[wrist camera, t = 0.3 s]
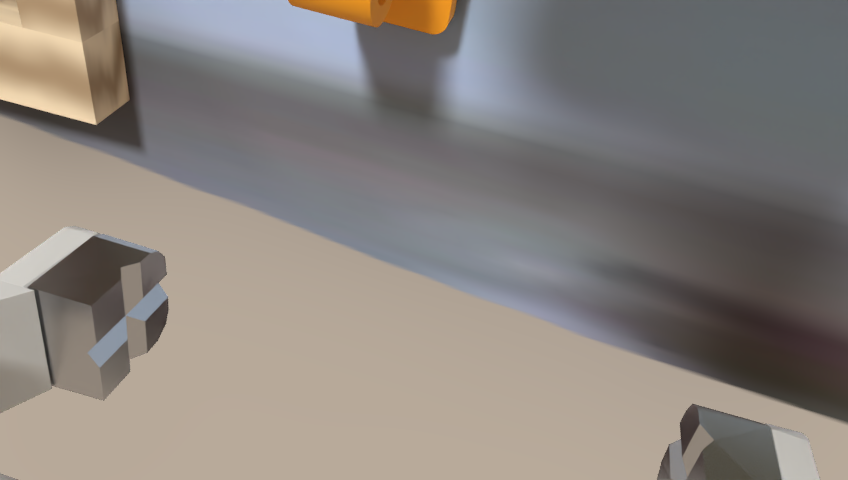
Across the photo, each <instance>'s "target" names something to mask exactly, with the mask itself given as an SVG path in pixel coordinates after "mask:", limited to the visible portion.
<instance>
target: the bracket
mask: <svg viewBox="0 0 848 480" xmlns="http://www.w3.org/2000/svg"><path fill="white" fill-rule="evenodd" d="M288 1H289V3H290V4H291V5H293V6H296V7H300V8H304V9H307V10H311V11H315V12H319V13H323V14H326V15H330V16H334V17H338V18H342V19H346V20H349V21H353V22H357V23H361V24H365V25H368V26H372V27H379V26H380V25H381V24H382V22H387V23H390V24H394V25H398V26H402V27H406V28H410V29H413V30H417V31H421V32H425V33H429V34H439V33H441V32H443V31H444V30H445V29H446V27H447V26H448V24H449V23H450V21H451V19H452V18H453V16H454V13H455V8H456V3H457V0H288Z"/></svg>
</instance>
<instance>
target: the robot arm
mask: <svg viewBox="0 0 848 480" xmlns="http://www.w3.org/2000/svg"><path fill="white" fill-rule="evenodd" d="M166 275H167V272H166V263H165V257H164V256H163V255H162V254H161V253H160V252H159V251H156V250H153V249H149V248H147V247H143V246H140V245H137V244H134V243H131V242H127V241H124V240H121V239H117V238H114V237H111V236H108V235H104V234H99V233H97V232H93V231H90V230H87V229H84V228H80V227H77V226H70V227H64V228H63V229H61V230H60V231H59V232H57V233H56V234H55V235H53V236H52V237H50V238H49V239H48V240H46V241H45V242H43V243H42V244H40V245H39V246H38V247H36V248H35V249H34V250H32V251H31V252H29V253H28V254H26V255H25V256H24V257H22V258H21V259H19V260H18V261H17V262H15V263H14V264H12V265H11V266H10V267H8V268H7V269H5V270H4V271H3V272H1V273H0V413H2V412H3V411H6V410H8V409H10V408H12V407H14V406H16V405H19V404H21V403H23V402H25V401H27V400H29V399H31V398H33V397H35V396H37V395H40V394H42V393H44V392H46V391H48V390H50V389H52V386H55V387H58V388H62V389H65V390H69V391H72V392H76V393H79V394H83V395H86V396H90V397H93V398H96V399H100V400H105V399H106V397H107V396H108V395H109V394H110V393H111V392H112V391H113V390H114V389H115V388H116V387H117V385H118V384H119V383H120V382H121V381H122V380H123V379H124V378H125V377H126V376H127V374H129V372H130V359H132V358H135V357H137V356H140V355H143V354H145V353H148V351H149V350H150V349H151V348H152V347H153V345H154V344H155V343H156V342H157V341H158V339H159V337H160V335H161V333H162V331H163V328H164V327H165V325H166V320H167V314H168V296H167V295H166V294H165V292H164V291H163V289H162V288H161V286H160V285H159V282H160V281H161V280H162V279H163V278H164V277H165V276H166ZM680 430H681V431H680V432H681V439H680V440H678V441H676V442H674V443H672V444H669V446H668V449H667V451H666V453H665V455H664V458H663V460H662V462H661V466H660V470H659V474H658V478H657V480H820V477H819V474H818V470H817V467H816V463H815V460H814V456H813V453H812V450H811V446H810V443H809V439H808V438H807V437H806V436H805V435H804V434H803V433H800V432H797V431H792V430H789V429H785V428H781V427H777V426H774V425H770V424H762V423H759V422H756V421H752V420H748V419H745V418H741V417H738V416H734V415H730V414H727V413H724V412H720V411H716V410H713V409H709V408H705V407H702V406H698V405H695V404H692V405H691V406H690V407H689V408H688V409H687V411H686V412H685V414H684V416H683V418H682V420H681V422H680ZM0 480H18V479H15V478H12V477H9V476H6V475H3V474H0Z"/></svg>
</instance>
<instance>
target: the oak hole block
mask: <svg viewBox="0 0 848 480" xmlns="http://www.w3.org/2000/svg"><path fill="white" fill-rule="evenodd" d="M0 99H1V100H5V101H9V102H12V103H16V104H20V105H23V106H27V107H31V108H35V109H38V110H42V111H46V112H50V113H53V114H57V115H61V116H65V117H68V118H72V119H76V120H79V121H83V122H87V123H91V124H94V125H97V124H99V123H100V122H101V121H103V120H104V119H105V118H106V117H108V116H109V115H110V114H112V113H113V112H114V111H116V110H117V109H118V108H120V107H121V106H122V105H124V104H125V103H126V102H127V101H129V100H130V98H129V91H128V83H127V76H126V69H125V62H124V55H123V47H122V40H121V33H120V26H119V19H118V11H117V4H116V0H0Z"/></svg>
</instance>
